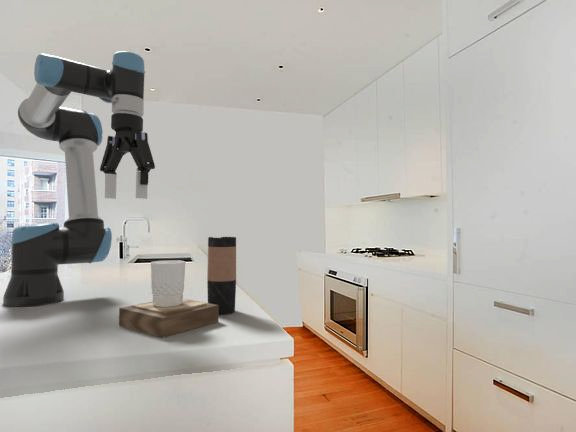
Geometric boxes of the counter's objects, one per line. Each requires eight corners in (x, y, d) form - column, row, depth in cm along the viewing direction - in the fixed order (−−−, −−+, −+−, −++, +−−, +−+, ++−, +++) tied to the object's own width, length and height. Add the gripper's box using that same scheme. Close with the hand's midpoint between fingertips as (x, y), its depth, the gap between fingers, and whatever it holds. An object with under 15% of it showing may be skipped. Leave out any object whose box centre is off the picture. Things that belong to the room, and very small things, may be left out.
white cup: (166, 309, 86) (166, 264, 86) (142, 305, 90) (143, 262, 90) (192, 303, 92) (192, 261, 93) (169, 299, 96) (169, 259, 97)
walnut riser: (119, 325, 89) (119, 305, 89) (175, 312, 102) (175, 295, 102) (162, 337, 80) (162, 315, 80) (218, 321, 93) (218, 303, 93)
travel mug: (230, 315, 99) (230, 237, 99) (202, 314, 100) (203, 237, 101) (239, 309, 106) (240, 236, 107) (213, 307, 108) (214, 236, 108)
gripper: (87, 118, 103) (85, 197, 103) (144, 105, 88) (142, 197, 88) (113, 124, 109) (111, 199, 109) (171, 112, 95) (168, 199, 95)
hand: (125, 198), depth 99 cm, fingers open, 13 cm apart
